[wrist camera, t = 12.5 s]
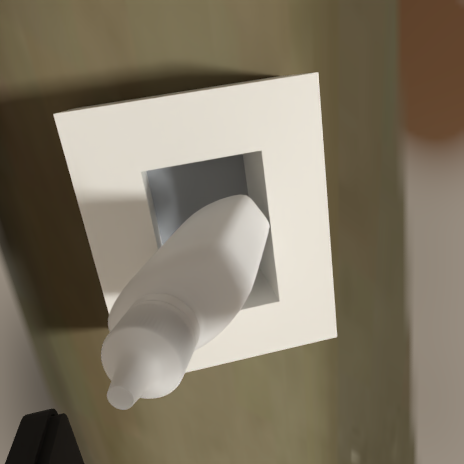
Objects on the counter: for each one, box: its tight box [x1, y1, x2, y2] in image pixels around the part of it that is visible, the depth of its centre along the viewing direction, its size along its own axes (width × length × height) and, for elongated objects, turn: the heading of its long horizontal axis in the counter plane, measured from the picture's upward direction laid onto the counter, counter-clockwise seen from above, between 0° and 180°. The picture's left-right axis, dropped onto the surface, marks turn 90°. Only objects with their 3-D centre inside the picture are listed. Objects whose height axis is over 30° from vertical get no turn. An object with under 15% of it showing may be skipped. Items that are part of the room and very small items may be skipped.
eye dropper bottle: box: [101, 194, 270, 410], centre depth 16 cm, size 4×6×12 cm
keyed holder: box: [53, 72, 337, 373], centre depth 24 cm, size 14×12×6 cm
